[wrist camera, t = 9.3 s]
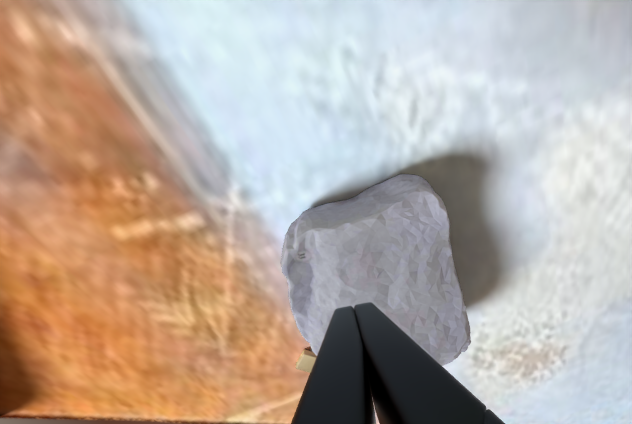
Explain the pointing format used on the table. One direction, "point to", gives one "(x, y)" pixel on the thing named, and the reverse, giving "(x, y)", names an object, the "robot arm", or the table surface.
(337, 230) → the stone block
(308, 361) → the maple strip
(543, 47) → the table surface
